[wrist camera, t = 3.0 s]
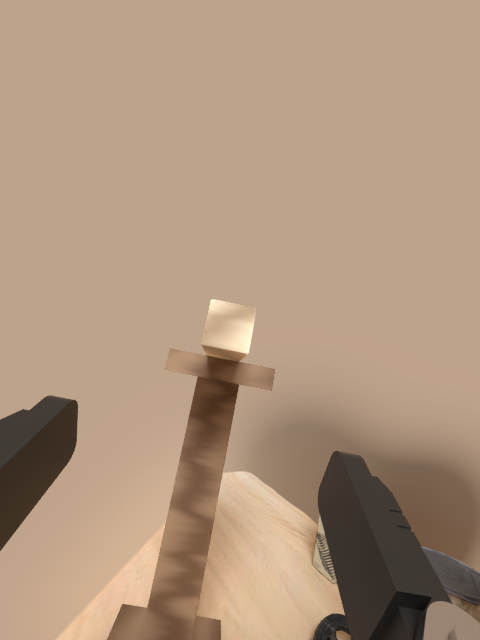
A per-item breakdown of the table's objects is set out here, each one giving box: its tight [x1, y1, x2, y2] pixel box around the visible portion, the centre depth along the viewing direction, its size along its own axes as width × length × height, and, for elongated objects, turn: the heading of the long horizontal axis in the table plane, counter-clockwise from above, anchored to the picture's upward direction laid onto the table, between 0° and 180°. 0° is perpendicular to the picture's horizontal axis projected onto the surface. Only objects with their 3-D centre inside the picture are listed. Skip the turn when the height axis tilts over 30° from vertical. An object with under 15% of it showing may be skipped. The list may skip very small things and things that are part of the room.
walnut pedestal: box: [107, 349, 275, 640], centre depth 31 cm, size 12×15×32 cm
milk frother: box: [314, 547, 480, 640], centre depth 32 cm, size 14×16×15 cm
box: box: [313, 515, 337, 583], centre depth 53 cm, size 5×4×13 cm
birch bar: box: [201, 299, 257, 362], centre depth 30 cm, size 3×24×3 cm, turn 4°
